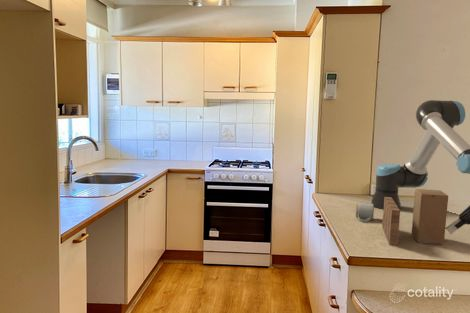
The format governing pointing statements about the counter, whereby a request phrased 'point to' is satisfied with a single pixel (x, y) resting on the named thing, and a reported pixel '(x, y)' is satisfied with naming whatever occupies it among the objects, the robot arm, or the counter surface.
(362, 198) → the counter surface
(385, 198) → the walnut board
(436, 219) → the wooden block
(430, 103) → the robot arm
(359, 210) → the ceramic mug
